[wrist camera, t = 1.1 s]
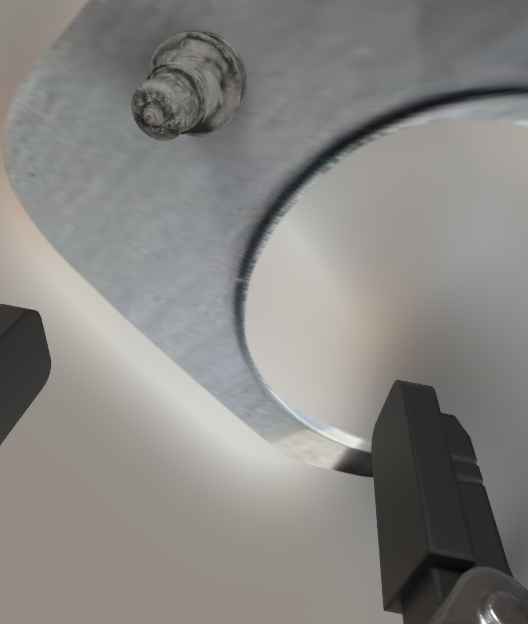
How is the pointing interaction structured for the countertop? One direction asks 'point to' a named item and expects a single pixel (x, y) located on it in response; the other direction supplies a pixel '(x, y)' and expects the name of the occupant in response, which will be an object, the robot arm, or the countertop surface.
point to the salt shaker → (189, 87)
